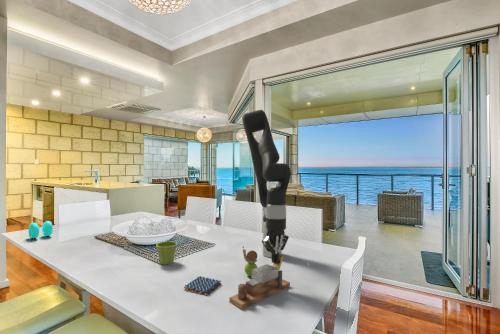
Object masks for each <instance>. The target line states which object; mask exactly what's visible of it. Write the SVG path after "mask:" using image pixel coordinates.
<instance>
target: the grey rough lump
mask: <svg viewBox="0 0 500 334" xmlns="http://www.w3.org/2000/svg"><path fill="white" fill-rule="evenodd" d="M257 267H258V268H255V269H252V275H251V276H250V277H251V280H252V279H254V280H257V281H259V282H261V283H265V282H267V281H269V280H272V279H274V278H277V277H278V268H276V267H273V265H271V264H268V263H266V264H264V265H260V266H257Z"/></svg>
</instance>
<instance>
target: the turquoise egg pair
mask: <svg viewBox="0 0 500 334" xmlns="http://www.w3.org/2000/svg"><path fill="white" fill-rule="evenodd" d="M52 223H53V222H52V221H50V220H45V222H43V224H42V226H41V231H42V235H43V236H44V235H45V236H44V237H46V236H49V237H51V236H52V235H53V231H54V230H53V229H54V226H53V224H52ZM39 234H40V226H39V225H38V223H36V222H31V223H30V224H29V226H28V237H29V239H31V238H36V239H37V238H38V237H39ZM50 235H51V236H50Z"/></svg>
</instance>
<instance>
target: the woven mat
mask: <svg viewBox="0 0 500 334" xmlns="http://www.w3.org/2000/svg"><path fill="white" fill-rule="evenodd" d="M221 282H222V280H219V279H215V278H210V277H205V276H201V275H200V276H197V277H196V278H195V279H194V280H192V281H190V282H189V283H187V284H185V285H184V286H183V291H187V292H189V293H190V292H192V293H195V294H199V295H202V296H203V295H205V296H209V294H210V293H212V292H213V291H214V290H216V288H218V287H219V286H220V285H222V283H221Z"/></svg>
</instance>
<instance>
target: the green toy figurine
mask: <svg viewBox="0 0 500 334" xmlns="http://www.w3.org/2000/svg"><path fill="white" fill-rule="evenodd" d="M244 248H245V246H242V253H243V259H244V261H245V262H247V263H246V264H245V267H244V272H245V274H246V275H247V276H248V277H251V275H252V269H255V268H258V267H259V266H258V265H257V264H256V262H258V260H257V259H258V252H257V251H255V250H249V251H248V252H247V250H246V249H244Z"/></svg>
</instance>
